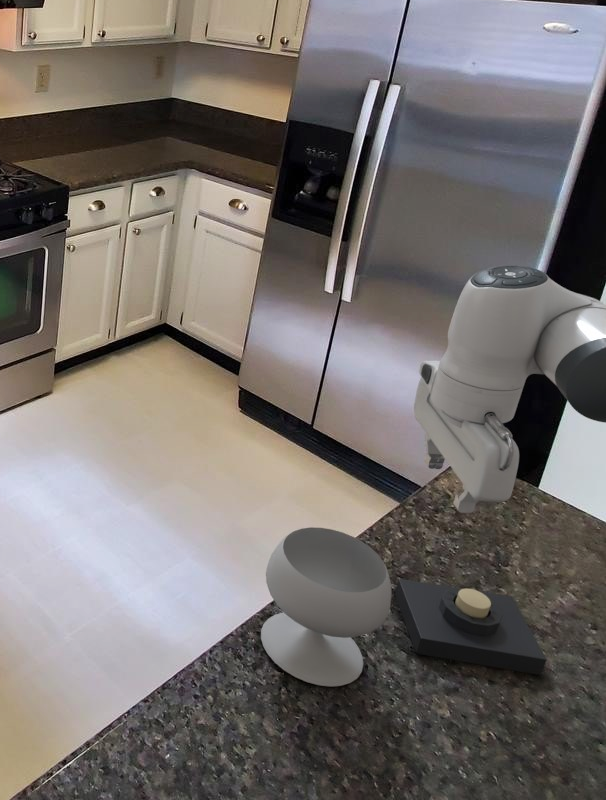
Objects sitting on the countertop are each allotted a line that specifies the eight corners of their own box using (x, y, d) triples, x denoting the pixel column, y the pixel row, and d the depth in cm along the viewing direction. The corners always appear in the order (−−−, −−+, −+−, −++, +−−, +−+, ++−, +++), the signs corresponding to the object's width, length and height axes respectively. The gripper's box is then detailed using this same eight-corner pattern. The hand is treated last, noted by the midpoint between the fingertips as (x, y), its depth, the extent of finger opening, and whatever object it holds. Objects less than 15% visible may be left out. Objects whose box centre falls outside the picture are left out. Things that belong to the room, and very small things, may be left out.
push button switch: (481, 601, 104) (485, 590, 104) (491, 621, 101) (495, 610, 101) (451, 596, 105) (454, 586, 104) (460, 616, 102) (463, 605, 101)
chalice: (290, 593, 111) (310, 507, 105) (391, 657, 101) (420, 565, 95) (231, 641, 104) (249, 551, 97) (334, 715, 93) (361, 619, 87)
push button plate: (506, 611, 108) (516, 585, 106) (540, 675, 98) (551, 648, 97) (394, 593, 111) (401, 568, 109) (415, 653, 102) (424, 627, 100)
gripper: (547, 442, 88) (512, 541, 93) (466, 358, 106) (441, 445, 112) (485, 438, 89) (454, 537, 94) (416, 355, 107) (393, 442, 113)
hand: (446, 486), depth 103 cm, fingers open, 8 cm apart
